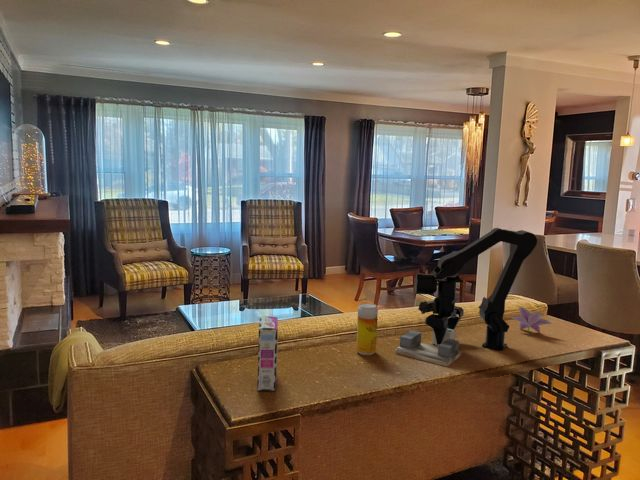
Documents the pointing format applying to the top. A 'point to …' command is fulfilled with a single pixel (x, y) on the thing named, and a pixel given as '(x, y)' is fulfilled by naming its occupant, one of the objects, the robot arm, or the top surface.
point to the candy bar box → (267, 353)
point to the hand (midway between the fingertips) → (443, 341)
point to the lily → (530, 320)
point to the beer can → (367, 329)
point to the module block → (448, 335)
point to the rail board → (428, 349)
